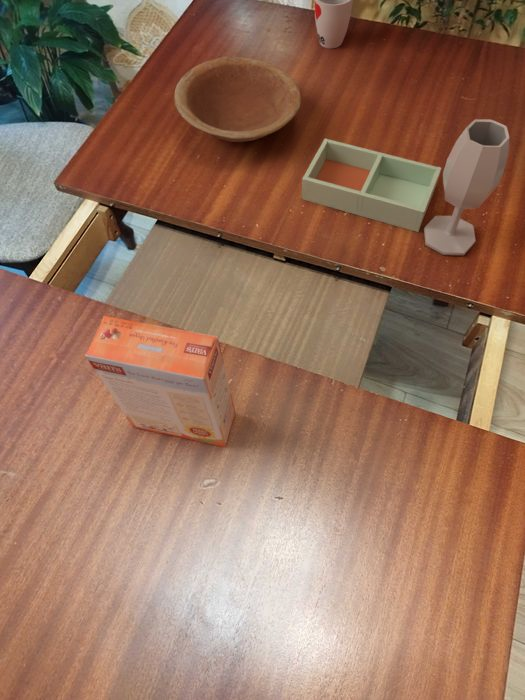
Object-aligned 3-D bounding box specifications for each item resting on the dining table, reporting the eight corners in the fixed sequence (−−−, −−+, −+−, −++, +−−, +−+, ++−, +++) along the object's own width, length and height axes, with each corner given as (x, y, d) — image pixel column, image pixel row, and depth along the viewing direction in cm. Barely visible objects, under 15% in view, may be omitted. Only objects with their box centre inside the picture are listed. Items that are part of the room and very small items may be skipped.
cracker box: (237, 410, 78) (220, 334, 60) (225, 449, 75) (204, 382, 57) (145, 390, 80) (103, 311, 62) (131, 427, 77) (82, 356, 59)
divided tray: (435, 188, 97) (441, 167, 93) (418, 232, 92) (424, 212, 88) (323, 159, 102) (324, 138, 98) (301, 199, 98) (302, 178, 93)
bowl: (262, 183, 100) (260, 148, 93) (158, 144, 107) (149, 108, 100) (320, 109, 110) (322, 72, 103) (221, 77, 116) (217, 40, 109)
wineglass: (429, 212, 95) (462, 106, 76) (479, 225, 93) (526, 119, 74) (416, 249, 91) (447, 146, 72) (468, 263, 89) (514, 161, 71)
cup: (314, 30, 123) (316, -17, 115) (350, 31, 122) (355, -16, 114) (311, 51, 119) (312, 4, 111) (348, 53, 118) (352, 5, 110)
